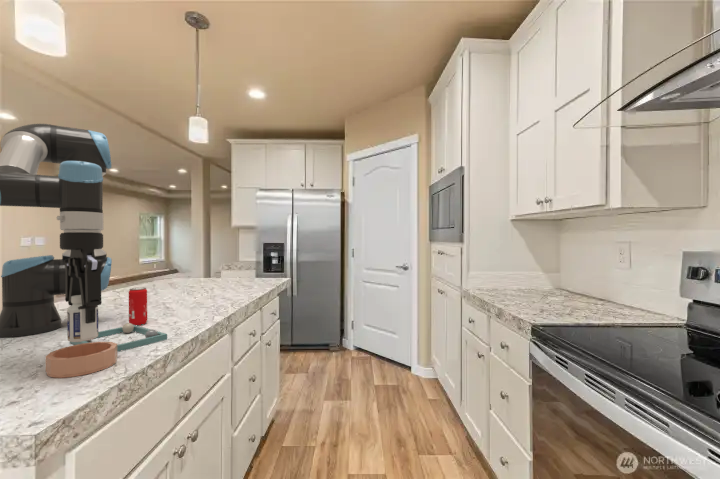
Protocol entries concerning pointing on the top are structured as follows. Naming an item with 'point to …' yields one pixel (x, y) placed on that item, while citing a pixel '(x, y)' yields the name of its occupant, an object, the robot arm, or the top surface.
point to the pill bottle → (76, 320)
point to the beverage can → (137, 306)
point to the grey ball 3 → (151, 333)
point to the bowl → (81, 359)
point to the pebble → (128, 328)
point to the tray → (132, 344)
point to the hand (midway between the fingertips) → (83, 335)
